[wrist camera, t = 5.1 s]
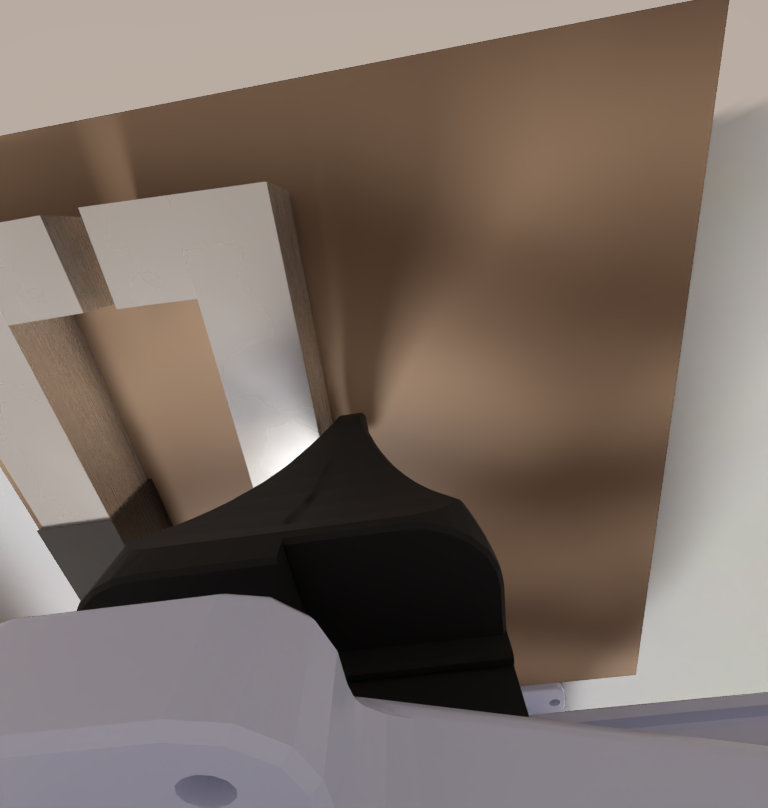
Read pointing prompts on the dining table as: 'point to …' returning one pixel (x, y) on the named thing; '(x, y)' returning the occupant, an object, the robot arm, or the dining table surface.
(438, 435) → the cutting board
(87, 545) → the tongs fixed arm
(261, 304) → the tongs arm
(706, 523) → the dining table surface
